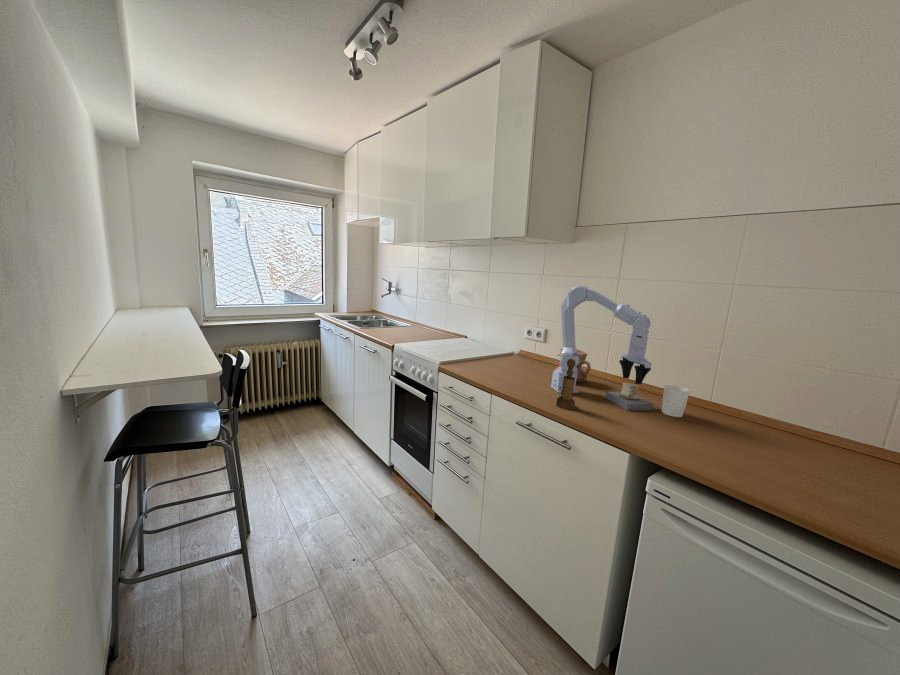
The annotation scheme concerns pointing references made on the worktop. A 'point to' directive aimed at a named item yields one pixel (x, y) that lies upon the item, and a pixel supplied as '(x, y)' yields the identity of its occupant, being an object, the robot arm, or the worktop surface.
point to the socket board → (629, 402)
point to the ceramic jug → (579, 365)
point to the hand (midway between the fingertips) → (631, 380)
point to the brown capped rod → (567, 388)
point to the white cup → (674, 400)
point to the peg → (629, 391)
